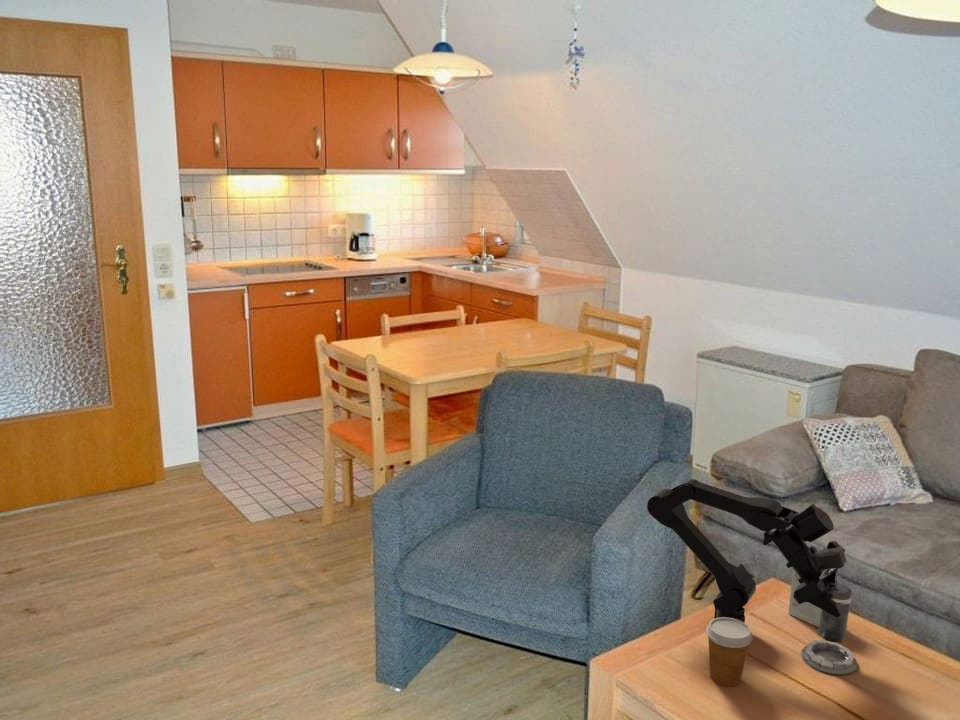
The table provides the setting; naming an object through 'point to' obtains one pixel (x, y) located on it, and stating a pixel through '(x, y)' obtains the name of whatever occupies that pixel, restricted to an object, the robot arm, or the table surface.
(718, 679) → the disposable coffee cup
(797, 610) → the small box
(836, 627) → the lens
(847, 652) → the mount ring
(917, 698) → the table surface
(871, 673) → the table surface
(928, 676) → the table surface
